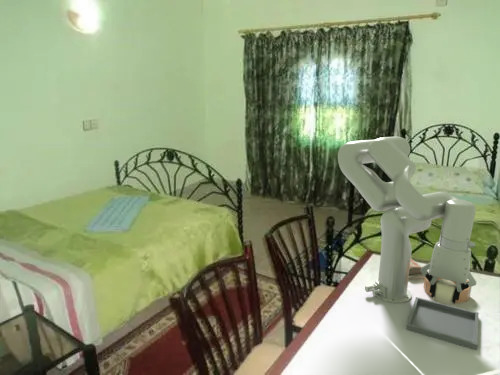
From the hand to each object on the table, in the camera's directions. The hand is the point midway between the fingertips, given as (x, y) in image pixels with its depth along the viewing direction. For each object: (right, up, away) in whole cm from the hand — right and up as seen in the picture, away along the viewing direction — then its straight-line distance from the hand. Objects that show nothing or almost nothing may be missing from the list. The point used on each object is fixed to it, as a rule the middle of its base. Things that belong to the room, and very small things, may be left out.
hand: (443, 297), depth 115 cm
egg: (0, -1, 0) cm, 1 cm away
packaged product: (+4, 0, +38) cm, 38 cm away
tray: (0, -9, +1) cm, 9 cm away
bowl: (+11, -4, +19) cm, 22 cm away
